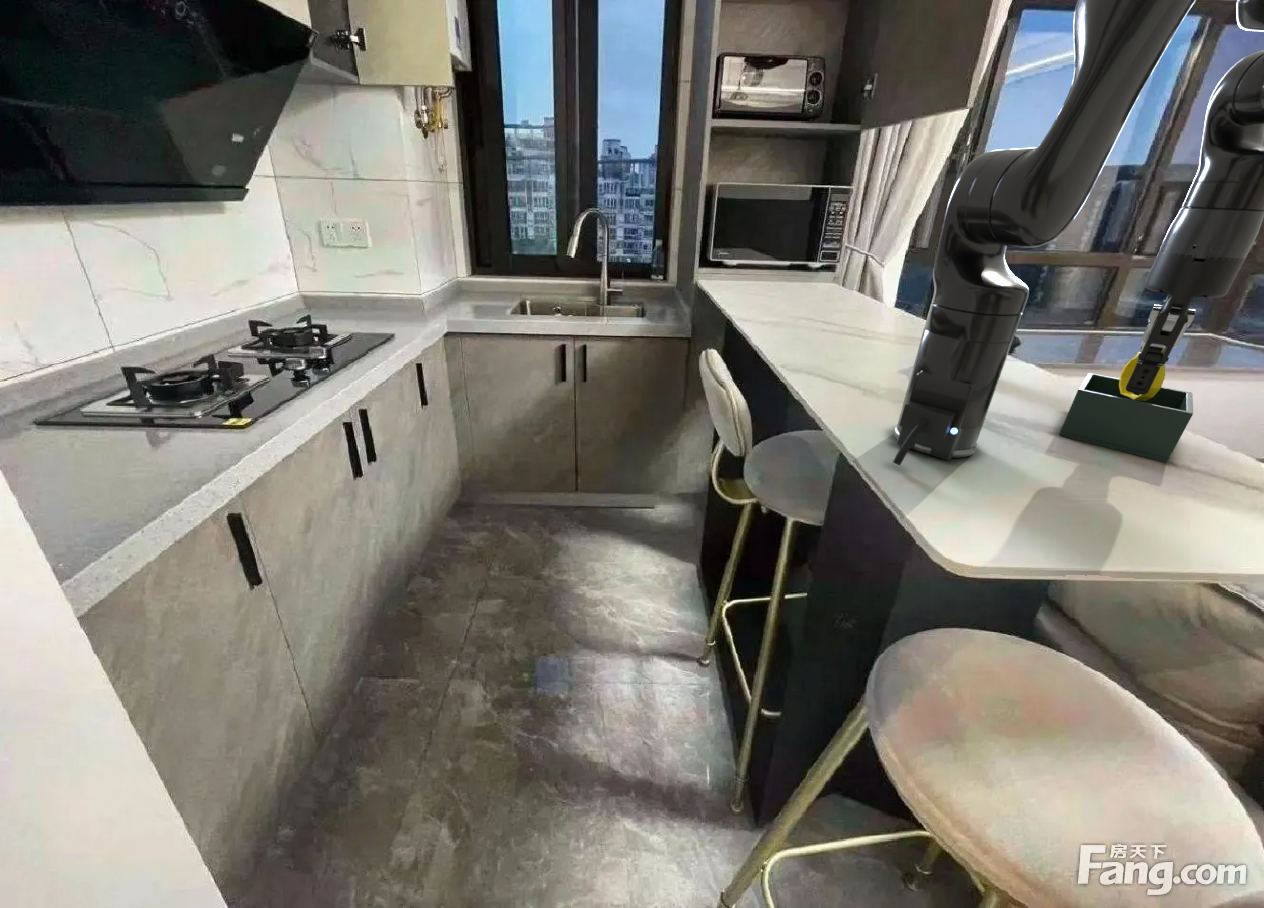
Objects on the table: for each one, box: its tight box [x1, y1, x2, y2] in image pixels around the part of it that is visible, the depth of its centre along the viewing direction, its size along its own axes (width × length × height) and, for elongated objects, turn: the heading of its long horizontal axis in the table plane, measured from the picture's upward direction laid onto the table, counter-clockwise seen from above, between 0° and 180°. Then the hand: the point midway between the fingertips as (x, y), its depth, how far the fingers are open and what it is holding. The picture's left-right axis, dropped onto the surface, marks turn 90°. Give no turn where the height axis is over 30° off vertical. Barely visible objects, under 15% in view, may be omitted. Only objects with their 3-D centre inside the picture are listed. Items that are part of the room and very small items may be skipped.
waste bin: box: [1058, 372, 1194, 463], centre depth 73 cm, size 11×11×7 cm
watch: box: [1119, 351, 1166, 401], centre depth 70 cm, size 6×3×6 cm, turn 168°
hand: (1137, 386), depth 71 cm, fingers closed on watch, 5 cm apart
